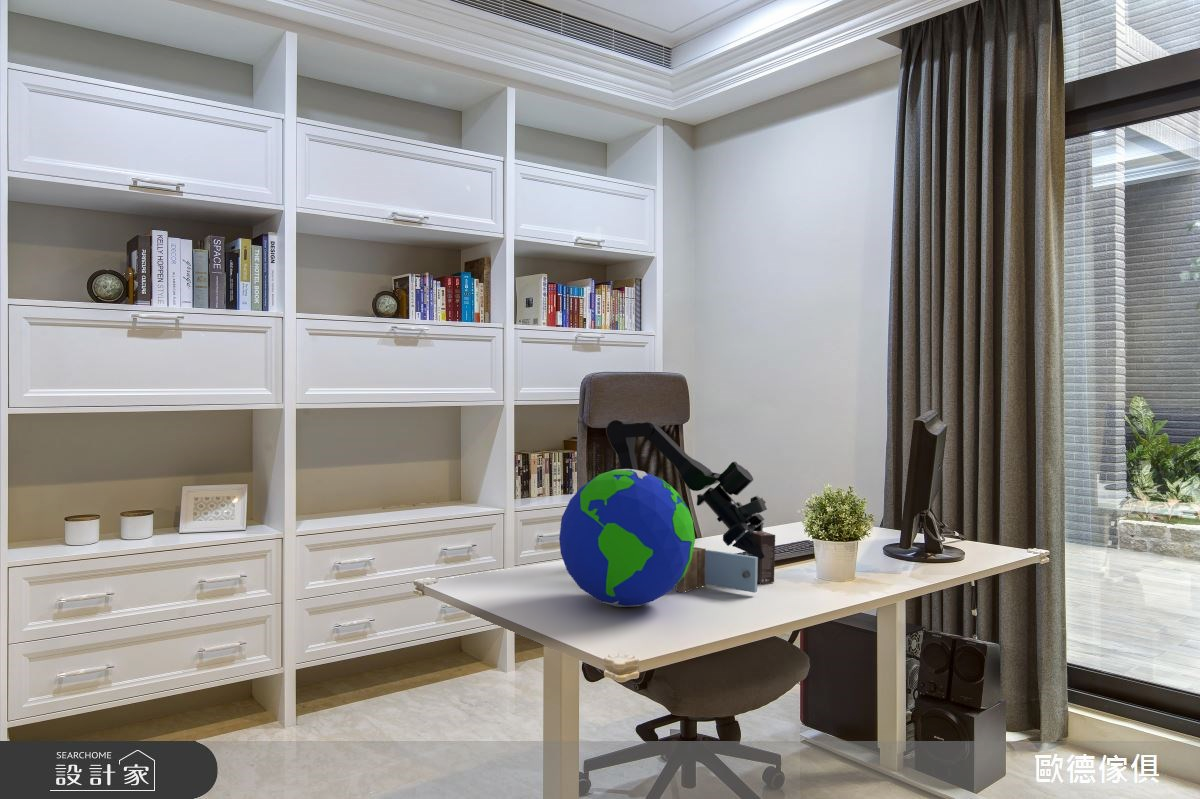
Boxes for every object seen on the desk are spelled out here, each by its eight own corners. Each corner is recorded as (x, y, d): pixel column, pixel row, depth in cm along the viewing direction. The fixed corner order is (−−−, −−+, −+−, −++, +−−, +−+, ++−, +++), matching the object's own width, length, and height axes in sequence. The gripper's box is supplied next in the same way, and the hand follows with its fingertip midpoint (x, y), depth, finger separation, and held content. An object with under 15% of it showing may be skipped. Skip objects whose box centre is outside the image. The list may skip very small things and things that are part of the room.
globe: (545, 620, 168) (547, 474, 168) (570, 585, 198) (572, 460, 197) (692, 628, 164) (694, 478, 164) (695, 591, 194) (697, 464, 193)
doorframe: (685, 593, 192) (686, 554, 192) (674, 591, 194) (675, 552, 194) (731, 576, 210) (732, 541, 209) (721, 574, 211) (721, 539, 211)
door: (702, 585, 196) (702, 551, 196) (707, 583, 198) (707, 549, 198) (752, 593, 188) (753, 558, 188) (757, 591, 190) (757, 557, 190)
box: (775, 583, 203) (776, 534, 203) (759, 584, 201) (760, 535, 201) (762, 577, 209) (763, 530, 208) (746, 578, 207) (747, 531, 207)
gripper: (736, 490, 198) (781, 540, 193) (756, 482, 215) (798, 528, 210) (704, 520, 201) (747, 570, 197) (727, 510, 218) (767, 556, 214)
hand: (767, 555), depth 204 cm, fingers closed on box, 7 cm apart
